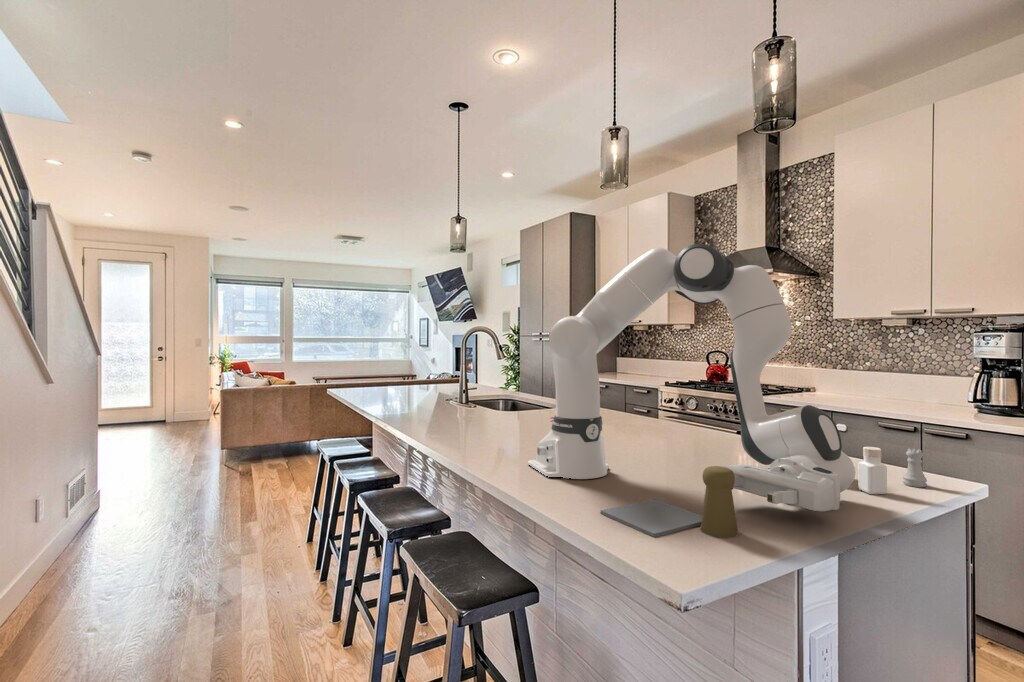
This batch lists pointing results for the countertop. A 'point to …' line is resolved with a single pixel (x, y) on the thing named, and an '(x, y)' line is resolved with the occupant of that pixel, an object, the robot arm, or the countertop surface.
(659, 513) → the plate
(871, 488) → the salt shaker
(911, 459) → the rook chess piece
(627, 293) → the robot arm
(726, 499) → the olive chess pawn
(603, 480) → the countertop surface
